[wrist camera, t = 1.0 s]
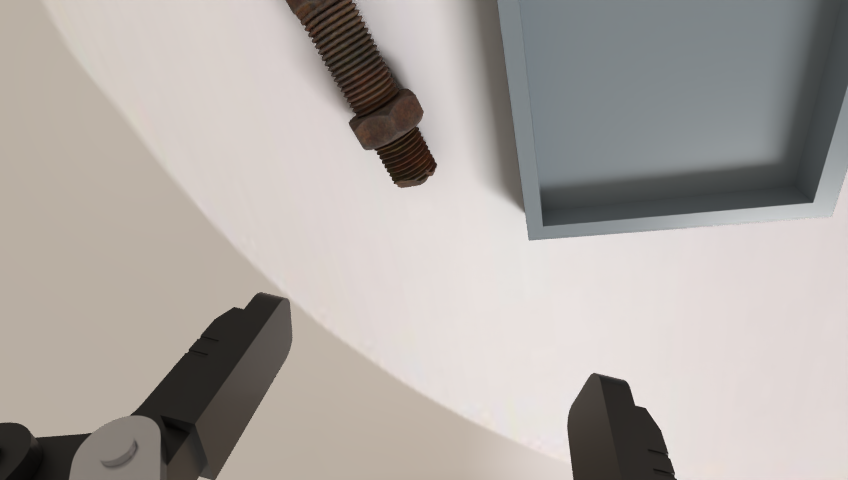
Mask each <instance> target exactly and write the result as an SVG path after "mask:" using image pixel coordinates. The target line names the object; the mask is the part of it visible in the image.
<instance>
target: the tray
mask: <svg viewBox="0 0 848 480" xmlns="http://www.w3.org/2000/svg"><path fill="white" fill-rule="evenodd" d="M497 3H498V10H499V18H500V26H501V33H502V41H503V48H504V56H505V63H506V71H507V79H508V86H509V94H510V101H511V109H512V117H513V124H514V132H515V139H516V147H517V154H518V162H519V170H520V177H521V185H522V192H523V200H524V207H525V215H526V223H527V230H528V238H529V240H541V239H554V238H567V237H580V236H592V235H605V234H618V233H631V232H644V231H657V230H669V229H682V228H695V227H708V226H721V225H734V224H746V223H759V222H772V221H785V220H798V219H811V218H823V217H832V215H833V212H834V209H835V206H836V203H837V199H838V196H839V193H840V190H841V187H842V184H843V181H844V178H845V175H846V172H847V169H848V0H497Z"/></svg>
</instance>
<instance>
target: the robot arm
mask: <svg viewBox="0 0 848 480" xmlns="http://www.w3.org/2000/svg"><path fill="white" fill-rule="evenodd" d="M291 343H292V325H291V312H290V302H289V300H288V299H287V298H283V297H279V296H274V295H270V294H266V293H262V292H260V293H258V294H256V295H255V296H254V297H253V299H252V300H251V301H250V302H249V304H248V305H247V306H246V307H245V309H240V308H235V307H234V308H232V309H231V310H229V311H227V312H226V313H224V314H222V315H221V316H219V317H218V318H216V319H215V320H214V321H213V322H212V323H211V324H210V325H209V327H208V328H207V329H206V330H205V331H204V332H203V334H202V335H201V338H200V339H197V341H196V342H195V343H194V344H193V345H192V347H191V348H190V349H189V352H188V353H185V355H184V356H183V357H182V358H181V359H180V361H179V362H178V363H177V364H176V365H175V366H174V367H173V369H172V370H171V371H170V372H169V373H168V374H167V376H166V377H165V378H164V379H163V380H162V381H161V383H160V384H159V385H158V386H157V387H156V388H155V390H154V391H153V392H152V393H151V394H150V396H149V397H148V398H147V399H146V400H145V401H144V402H143V404H142V405H141V406H140V407H139V408H138V409H137V410H136V411H135V412H133V413H132V414H131V415H130V416H127V417H122V418H119V419H116V420H113V421H112V422H109V423H107V424H105V425H104V426H102V427H100V428H99V429H97V430H96V431H95V432H93V433H88V434H80V435H65V436H52V437H40V438H35V437H34V436H33V435H32V434H31V433H30V431H29V430H28V429H27V428H26V427H25V426H23V425H21V424H18V423H0V480H197V479H198V477H199V476H200V477H204V478H207V479H211V480H215V479H216V478H217V476H218V474H219V472H220V471H221V469H222V467H223V466H224V464H225V462H226V460H227V459H228V457H229V455H230V454H231V452H232V450H233V449H234V447H235V445H236V443H237V442H238V440H239V438H240V437H241V435H242V433H243V431H244V430H245V428H246V426H247V425H248V423H249V421H250V419H251V418H252V416H253V414H254V413H255V411H256V409H257V407H258V406H259V404H260V402H261V401H262V399H263V397H264V395H265V394H266V392H267V390H268V389H269V387H270V385H271V383H272V382H273V380H274V378H275V377H276V375H277V373H278V371H279V370H280V368H281V367H282V365H283V363H284V361H285V360H286V358H287V355H288V353H289V351H290V347H291ZM567 429H568V438H569V447H570V455H571V463H572V471H573V479H574V480H677V479H675V477H674V475H675V472H674V469H673V466H672V463H671V460H670V459H669V458H668V451H667V448H666V445H665V442H664V439H663V436H662V432H661V430H660V428H659V427H658V426H657V424H656V423H655V421H654V420H653V418H652V417H651V415H650V414H649V412H648V411H647V410H646V408H643V407H639V406H635V404H634V400H633V397H632V393H631V390H630V387H629V385H628V383H627V382H626V381H625V380H621V379H617V378H613V377H609V376H605V375H601V374H596V373H593V374H591V375H590V377H589V378H588V380H587V381H586V383H585V385H584V386H583V388H582V390H581V391H580V393H579V394H578V396H577V398H576V399H575V401H574V403H573V404H572V406H571V408H570V411H569V415H568V424H567Z"/></svg>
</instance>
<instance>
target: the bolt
mask: <svg viewBox="0 0 848 480" xmlns="http://www.w3.org/2000/svg"><path fill="white" fill-rule="evenodd" d="M286 2H287V3H288V5H289V7H290V9H291V10H292V12H293V14H295V15H296V16H297V17H298V19H300V20H301V24H302V25H305V26H306V28H305V31H309V32H310V33H309V35H308V36H309V37H313V40H312V43H317V44H316V46H315V48H316V49H320V50H319V52H318V54H320V55H323V57H322V60H323V61H326V63H325V66H329V69H328V71H332V75H331V76H333V77H336V78H335V80H334V81H335V82H339V84H338V87H342V89H341V92H344V93H345V95H344V97H346V98H348V100H347V102H349V103H351V105H350V107H351V108H354V109H353V112H354V113H356V116H354V117H353V118H352V119H351V120H350V122H349V125H350V127H351V128H352V130H353V132H354V134H355V135H356V137H357V139H358V140H359V142H360V144H361V145H362V147H363V148H364V149H365V150H372V149H374V150H376V151H378V152H377V155H380V159H381V160H382V163H383V164H385V168H387V172H388V173H390V175H389V176H391V177H392V181H394V184H397V185H398V187H401V188H404V187H411V186H417V185H421V184H423V183H424V182H425V181H426V180H427V178H428V177H429V176H432V175H433V174H434V172H435V169H436V167H437V163H436V162H435V160H434V158H433V157H432V154H430V150H428V146H427V145H425V144H426V142H425V141H424V140H423V137H422V136H421V133H420V132H419V128H418V127H416V125H417V124H418V123H419V122H420V121H421V119H422V116H423V110H422V108H421V105H420V103H419V101H418V99H417V97H416V95H415V94H414V93H413V92H412V91H410V90H409V89H403V90H400V91H399V89H398V88H395V87H396V83H392V82H393V80H394V79H393V78H390V75H391V73H388V72H387V71H388V67H384V65H385V62H381V60H382V58H383V57H381V56H378V55H379V53H380V51H376V48H377V45H373V43H374V39H370V37H371V34H368V33H367V31H368V28H364V25H365V22H361V19H362V16H358V13H359V10H355V6H356V4H355V3H352V0H286Z"/></svg>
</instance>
